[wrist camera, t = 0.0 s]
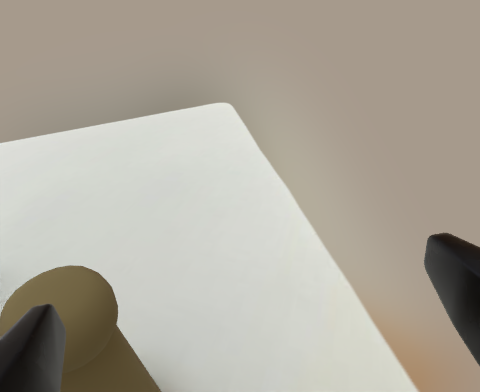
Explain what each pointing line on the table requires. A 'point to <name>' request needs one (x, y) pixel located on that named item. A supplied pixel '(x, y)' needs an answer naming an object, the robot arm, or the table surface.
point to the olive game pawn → (83, 330)
